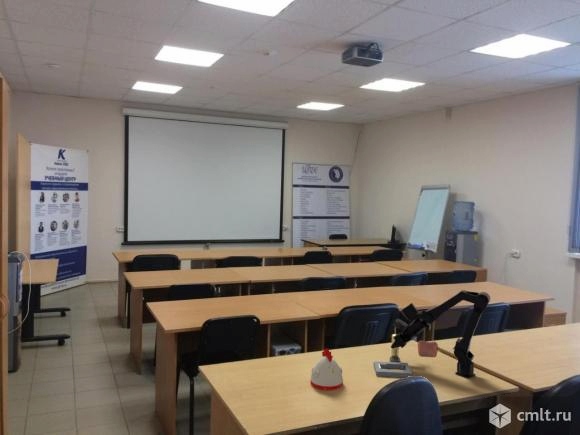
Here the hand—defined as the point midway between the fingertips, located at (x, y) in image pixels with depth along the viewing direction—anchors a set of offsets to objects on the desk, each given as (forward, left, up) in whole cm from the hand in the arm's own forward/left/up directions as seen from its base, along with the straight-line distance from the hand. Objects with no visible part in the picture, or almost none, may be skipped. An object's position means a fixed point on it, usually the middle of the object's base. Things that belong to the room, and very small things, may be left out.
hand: (392, 346), depth 224 cm
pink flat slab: (+2, -29, -8) cm, 31 cm away
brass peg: (-1, -1, -7) cm, 7 cm away
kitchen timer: (-4, +46, -7) cm, 46 cm away
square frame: (-10, +11, -7) cm, 16 cm away
